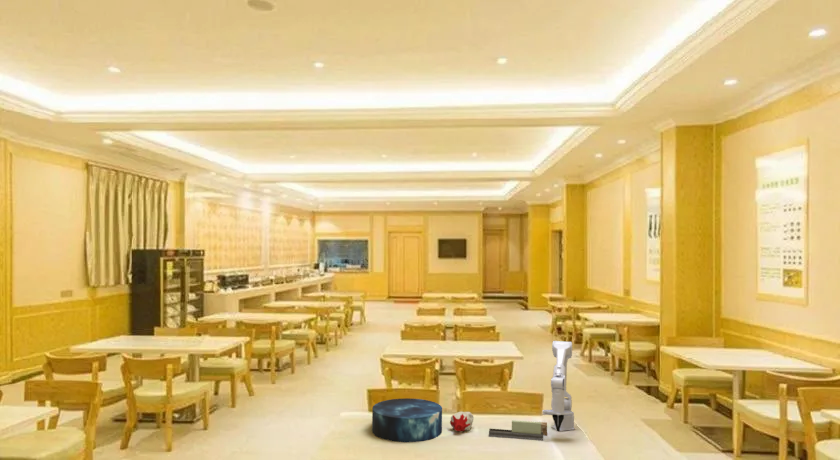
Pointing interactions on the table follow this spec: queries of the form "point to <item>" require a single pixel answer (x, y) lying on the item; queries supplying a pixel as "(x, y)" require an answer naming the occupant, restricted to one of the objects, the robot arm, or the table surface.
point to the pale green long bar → (526, 427)
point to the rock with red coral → (461, 421)
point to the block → (544, 428)
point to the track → (514, 434)
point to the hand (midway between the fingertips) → (557, 430)
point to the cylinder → (407, 420)
